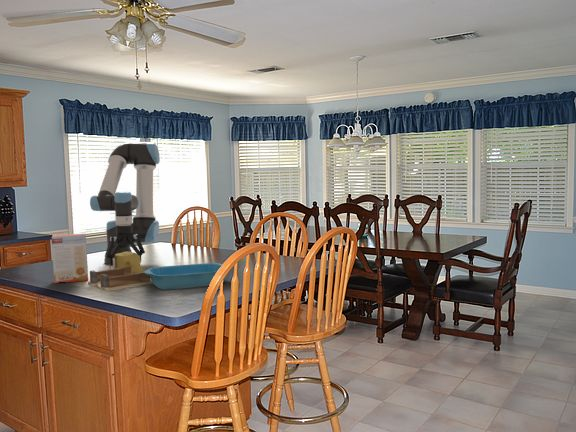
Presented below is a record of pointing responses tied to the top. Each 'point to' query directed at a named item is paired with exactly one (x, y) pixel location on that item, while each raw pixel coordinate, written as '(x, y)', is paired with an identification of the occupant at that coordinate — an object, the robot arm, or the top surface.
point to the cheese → (128, 261)
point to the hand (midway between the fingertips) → (125, 270)
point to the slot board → (118, 279)
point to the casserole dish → (183, 275)
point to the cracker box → (69, 258)
